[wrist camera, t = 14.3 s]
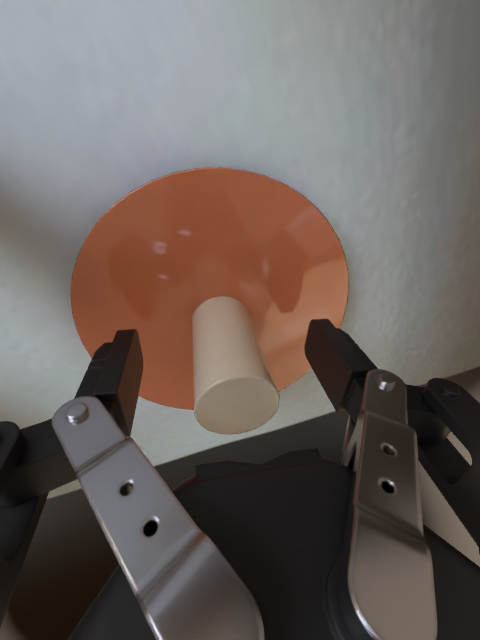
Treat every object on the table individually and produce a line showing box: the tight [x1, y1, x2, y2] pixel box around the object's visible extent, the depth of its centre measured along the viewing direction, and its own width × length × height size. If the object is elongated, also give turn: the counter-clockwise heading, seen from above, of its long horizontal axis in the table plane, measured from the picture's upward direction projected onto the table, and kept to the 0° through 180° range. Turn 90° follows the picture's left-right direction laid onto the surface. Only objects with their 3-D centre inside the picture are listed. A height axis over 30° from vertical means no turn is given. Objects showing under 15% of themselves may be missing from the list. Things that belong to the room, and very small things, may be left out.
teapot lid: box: [71, 167, 349, 434], centre depth 12 cm, size 14×14×7 cm
